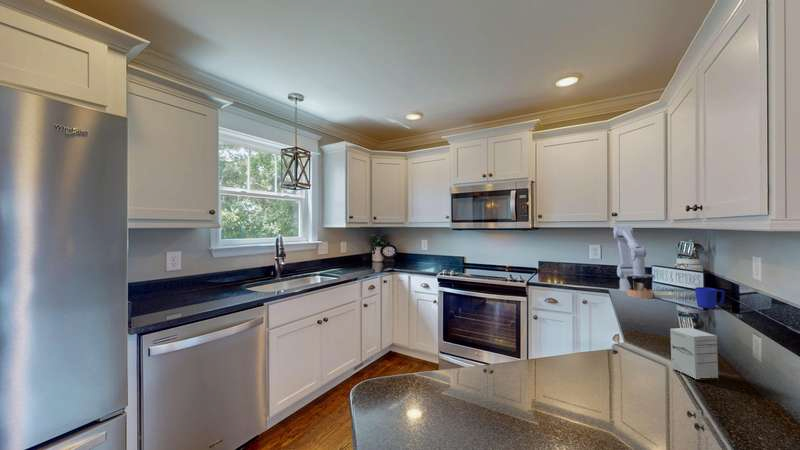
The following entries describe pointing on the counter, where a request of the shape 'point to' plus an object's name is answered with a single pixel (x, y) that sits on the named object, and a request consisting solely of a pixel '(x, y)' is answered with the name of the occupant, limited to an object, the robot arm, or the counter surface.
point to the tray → (665, 294)
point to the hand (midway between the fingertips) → (639, 289)
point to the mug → (708, 297)
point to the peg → (639, 286)
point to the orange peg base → (640, 293)
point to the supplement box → (694, 352)
